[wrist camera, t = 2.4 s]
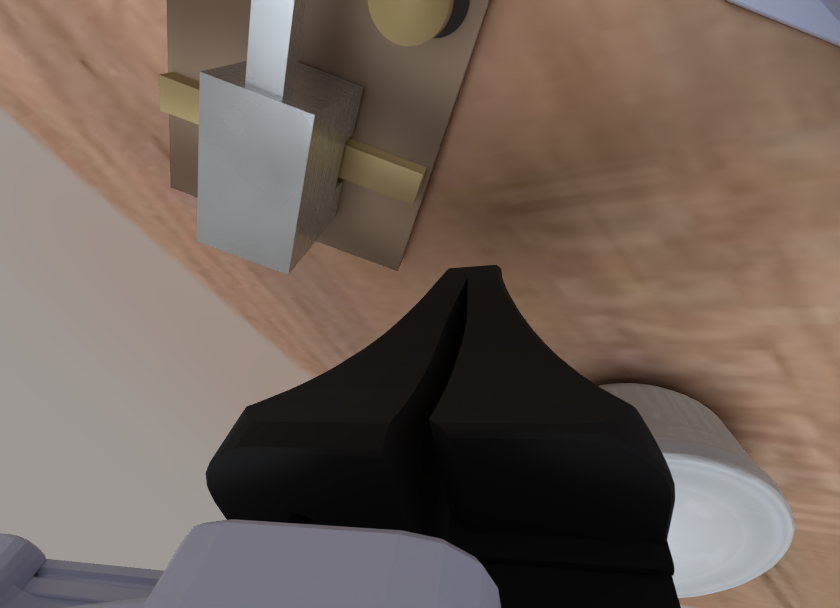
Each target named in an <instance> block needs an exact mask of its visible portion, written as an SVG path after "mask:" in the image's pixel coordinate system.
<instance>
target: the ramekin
mask: <svg viewBox="0 0 840 608" xmlns="http://www.w3.org/2000/svg"><path fill="white" fill-rule="evenodd" d="M598 387H600V388H602V389H604V390H606V391H607V392H609V393H611V394H613V395H615V396H616V397H618V398H620V399H622V400H624V401H625V402H627V403H629V404H631V405H633V406H634V407H635V408H636V409H637V410H638V412H639V413H640V415H641V416H642V418H643V420H644V421H645V423H646V425H647V426H648V428H649V429H650V431H651V433H652V435H653V437H654V438H655V440H656V442H657V444H658V446H659V448H660V450H661V452H662V454H663V456H664V458H665V460H666V462H667V464H668V467H669V469H670V472H671V475H672V478H673V481H674V484H675V504H674V509H673V514H672V519H671V523H670V528H669V533H668V538H667V542H668V545H669V549H670V552H671V556H672V559H673V563H674V570H675V571H674V575H673V576H672V578H673V582H674V585H675V589H676V592H677V596H678V598H684V597H694V596H702V595H707V594H711V593H716V592H719V591H723V590H726V589H730V588H732V587H736V586H739V585H741V584H743V583H746V582H748V581H750V580H752V579H754V578H756V577H757V576H759V575H761V574H763V573H764V572H766V571H767V570H769V569H770V568H771V567H773V566H774V565H775V564H776V563H777V562H778V561H779V560H780V559H781V558H782V557H783V556H784V554H785V553H786V551H787V550H788V548H789V546H790V544H791V542H792V539H793V536H794V532H795V523H794V518H793V514H792V511H791V509H790V506H789V504H788V503H787V501H786V499H785V497H784V495H783V493H782V492H781V490H780V489H779V487H778V486H777V484H776V483H775V482H774V481H773V480H772V478H771V477H770V476H769V475H768V474H767V473H765V472H764V471H763V470H762V469H761V468H759V467H758V466H757V465H756V464H755V463H754V462H753V460H752V459H751V458H750V457H749V455H748V454H747V453H746V451H745V450H744V449H743V448H742V446H741V445H740V444H739V443H738V441H737V440H736V439H735V438H734V436H733V435H732V434H731V433H730V431H729V430H728V429H727V428H726V426H725V425H724V424H723V422H722V421H721V420H720V418H719V417H718V416H717V415H715V414H714V413H713V412H712V411H711V410H710V409H709V408H707V407H706V406H704V405H702V404H701V403H700V402H698V401H697V400H694V399H692V398H690V397H688V396H687V395H684V394H681V393H677V392H675V391H673V390H668V389H666V388H662V387H658V386H653V385H647V384H638V383H613V384H605V385H599V386H598Z"/></svg>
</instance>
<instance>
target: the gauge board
mask: <svg viewBox="0 0 840 608" xmlns="http://www.w3.org/2000/svg"><path fill="white" fill-rule="evenodd" d="M490 1H491V0H306V4H305V12H304V19H303V26H302V34H301V41H300V49H299V56H298V62H300V63H303V64H306V65H308V66H311V67H313V68H316V69H319V70H321V71H324V72H326V73H329V74H332V75H334V76H337V77H340V78H342V79H345V80H347V81H350V82H353V83H355V84H358V85H360V86H363V87H364V88H363V93H362V97H361V102H360V106H359V111H358V115H357V120H356V124H355V129H354V133H353V135H352V136H350V137H349V138H348V139H347V140H346V141H345V146H344V150H343V155H342V160H341V164H340V169H339V174H338V179H339V180H342V181H343V183H342V188H341V192H340V197H339V202H338V206H337V211H336V215H335V218H334V220H333V221H332V222H331V223H330V225H329V226H328V227H327V228H326V229H325V231H324V232H323V233H322V234H321V236H320V237H319V238H318V239H317V240H316V241H318V242H320V243H323V244H326V245H328V246H331V247H334V248H337V249H339V250H342V251H345V252H347V253H350V254H353V255H356V256H358V257H361V258H364V259H366V260H369V261H372V262H375V263H377V264H380V265H383V266H385V267H388V268H391V269H394V270H396V271H398V269H399V266H400V264H401V262H402V259H403V256H404V253H405V250H406V247H407V244H408V241H409V238H410V236H411V233H412V230H413V227H414V224H415V221H416V218H417V215H418V212H419V209H420V206H421V203H422V200H423V197H424V194H425V191H426V189H427V186H428V183H429V180H430V177H431V174H432V171H433V168H434V165H435V162H436V159H437V156H438V153H439V150H440V147H441V145H442V142H443V139H444V136H445V133H446V130H447V127H448V124H449V121H450V118H451V115H452V112H453V109H454V106H455V103H456V100H457V98H458V95H459V92H460V89H461V86H462V83H463V80H464V77H465V74H466V71H467V68H468V65H469V62H470V59H471V56H472V53H473V51H474V48H475V45H476V42H477V39H478V36H479V33H480V30H481V27H482V24H483V21H484V18H485V15H486V12H487V9H488V7H489V4H490ZM250 11H251V0H167V35H168V73H166V74H161V75H159V86H160V110H161V111H163V112H166V113H169V129H170V176H171V188H174V189H176V190H179V191H182V192H185V193H187V194H190V195H193V196H195V197H198V145H199V86H200V71H204V70H209V69H213V68H218V67H222V66H226V65H231V64H235V63H240V62H244V61H247V52H248V39H249V25H250Z"/></svg>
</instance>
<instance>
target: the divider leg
mask: <svg viewBox="0 0 840 608" xmlns="http://www.w3.org/2000/svg"><path fill="white" fill-rule="evenodd" d="M305 4H306V0H251V11H250V25H249V39H248V52H247V61H244V62H240V63H235V64H231V65H226V66H222V67H218V68H213V69H209V70H204V71H200V86H199V145H198V204H197V242H200V243H203V244H205V245H208V246H211V247H214V248H216V249H219V250H222V251H224V252H227V253H230V254H233V255H235V256H238V257H241V258H244V259H246V260H249V261H252V262H255V263H257V264H260V265H263V266H266V267H268V268H271V269H274V270H277V271H279V272H282V273H285V274H289V273H290V272H291V271H292V270H293V268H294V267H295V266H296V265H297V264H298V262H299V261H300V260H301V259H302V257H303V256H304V255H305V254H306V253H307V251H308V250H309V249H310V248H311V246H312V245H313V244H314V243H315V242H316V240H317V239H318V238H319V237H320V236H321V234H322V233H323V232H324V231H325V229H326V228H327V227H328V226H329V225H330V223H331V222H332V221H333V220H334V218H335V215H336V211H337V206H338V202H339V197H340V192H341V188H342V183H343V181H342V180H339V179H338V174H339V169H340V164H341V160H342V155H343V150H344V146H345V141H346V140H347V139H348V138H349V137H350V136H352V135H353V133H354V129H355V124H356V120H357V115H358V111H359V106H360V102H361V97H362V93H363V88H364V87H363V86H360V85H358V84H355V83H353V82H350V81H347V80H345V79H342V78H340V77H337V76H334V75H332V74H329V73H326V72H324V71H321V70H319V69H316V68H313V67H311V66H308V65H306V64H303V63H300V62H298V56H299V49H300V41H301V34H302V26H303V19H304V12H305Z"/></svg>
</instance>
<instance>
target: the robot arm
mask: <svg viewBox="0 0 840 608" xmlns="http://www.w3.org/2000/svg"><path fill="white" fill-rule="evenodd" d="M727 1H728V2H730V3H733V4H735V5H738V6H740V7H743V8H745V9H748V10H750V11H753V12H755V13H758V14H760V15H762V16H765V17H767V18H770V19H772V20H775V21H777V22H780V23H782V24H785V25H787V26H790V27H792V28H795V29H797V30H800V31H802V32H805V33H807V34H810V35H812V36H815V37H817V38H819V39H822V40H824V41H827V42H829V43H832V44H834V45H837V46H839V47H840V0H727ZM206 480H207V486H208V489H209V491H210V493H211V495H212V497H213V499H214V501H215V503H216V504H217V506H218V507H219V509H220V510H221V512H222V513H223V515H224V516H225V518H226V519H227V520H223V521H216V522H208V523H203V524H200V525H197V526H194V528H193V529H192V530H191V531H190V532H189V534H188V535H187V536H186V538H185V539H184V540H183V541H182V543H181V544H180V546H179V548H178V549H177V551H176V553H175V554H174V556H173V558H172V559H171V561H170V562H169V564H168V566H167V568H166V569H165V571H160V570H151V569H140V568H131V567H121V566H111V565H101V564H91V563H81V562H72V561H62V560H51V559H46V558H45V555H44V554H43V552H41V550H40V549H38V548H37V547H36V546H35V545H34V544H32V543H31V542H30V541H28V540H26V539H24V538H22V537H19V536H16V535H11V534H0V608H681V607H680V603H679V600H678V596H677V592H676V589H675V585H674V582H673V578H672V576H673V575H674V571H675V570H674V563H673V559H672V556H671V552H670V549H669V545H668V542H667V538H668V533H669V528H670V523H671V519H672V514H673V509H674V504H675V484H674V481H673V478H672V475H671V472H670V469H669V467H668V464H667V462H666V460H665V458H664V456H663V454H662V452H661V450H660V448H659V446H658V444H657V442H656V440H655V438H654V437H653V435H652V433H651V431H650V429H649V428H648V426H647V425H646V423H645V421H644V420H643V418H642V416H641V415H640V413H639V412H638V410H637V409H636V408H635V407H634V406H633V405H631V404H629V403H627V402H625V401H624V400H622V399H620V398H618V397H616V396H615V395H613V394H611V393H609V392H607V391H606V390H604V389H602V388H600V387H598V386H597V385H595V384H594V383H592V382H591V381H589V380H588V379H586V378H585V377H583V376H582V375H580V374H579V373H578V372H577V371H575V370H574V369H573V368H572V367H571V366H569V365H568V364H567V363H566V362H564V361H563V360H562V359H561V358H560V357H558V356H557V355H556V354H555V353H554V352H553V351H552V350H551V349H550V348H549V347H548V346H547V345H546V344H545V343H544V342H543V341H542V340H541V339H540V337H539V336H538V335H537V334H536V333H535V332H534V331H533V329H532V328H531V327H530V326H529V324H528V323H527V322H526V320H525V319H524V317H523V316H522V315H521V313H520V312H519V310H518V309H517V307H516V305H515V304H514V302H513V300H512V298H511V297H510V295H509V293H508V291H507V289H506V286H505V284H504V282H503V279H502V272H501V268H500V267H498V266H497V265H489V266H475V267H462V268H449V269H448V270H447V271H446V272H445V273H444V274H443V276H442V277H441V278H440V279H439V280H438V281H437V282H436V283H435V285H434V286H433V287H432V288H431V289H430V290H429V291H428V293H427V294H426V295H425V296H424V297H423V298H422V299H421V300H420V301H419V302H418V303H417V304H416V305H415V306H414V307H413V308H412V309H411V310H410V311H409V312H408V313H407V314H406V315H405V316H404V317H403V318H402V319H401V320H400V321H399V322H398V323H396V324H395V325H394V326H393V327H392V328H391V329H390V330H388V331H387V332H386V333H385V334H383V335H382V336H381V337H380V338H378V339H377V340H376V341H374V342H373V343H372V344H370V345H369V346H367V347H366V348H365V349H363V350H362V351H360V352H358V353H357V354H355V355H354V356H352V357H350V358H349V359H347V360H346V361H344V362H342V363H341V364H339V365H338V366H336V367H334V368H332V369H331V370H329V371H327V372H325V373H323V374H321V375H319V376H317V377H315V378H313V379H311V380H309V381H307V382H305V383H303V384H301V385H299V386H297V387H295V388H292V389H290V390H288V391H285V392H283V393H281V394H278V395H275V396H273V397H271V398H268V399H266V400H263V401H261V402H258V403H256V404H253V405H250V406H247V407H246V408H245V410H244V411H243V413H242V414H241V416H240V417H239V419H238V420H237V422H236V423H235V425H234V426H233V428H232V429H231V431H230V432H229V434H228V436H227V437H226V439H225V440H224V442H223V443H222V445H221V446H220V448H219V449H218V451H217V452H216V454H215V455H214V457H213V458H212V460H211V462H210V463H209V466H208V469H207V471H206Z"/></svg>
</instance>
